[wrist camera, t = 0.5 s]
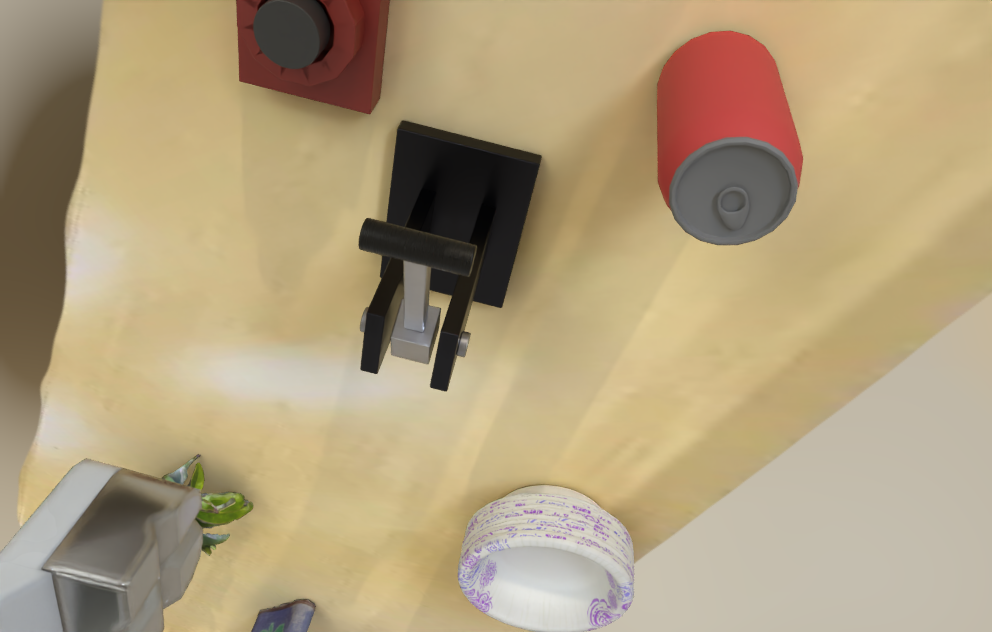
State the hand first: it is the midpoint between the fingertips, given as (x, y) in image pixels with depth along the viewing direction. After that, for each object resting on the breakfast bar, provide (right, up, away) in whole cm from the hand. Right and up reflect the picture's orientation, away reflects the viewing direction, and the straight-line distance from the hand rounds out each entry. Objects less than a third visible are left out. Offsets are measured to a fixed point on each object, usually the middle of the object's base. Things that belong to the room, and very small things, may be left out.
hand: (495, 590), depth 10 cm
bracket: (-3, +10, +42) cm, 43 cm away
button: (-11, +19, +31) cm, 38 cm away
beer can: (+12, +17, +34) cm, 40 cm away
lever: (-4, +6, +29) cm, 30 cm away
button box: (-10, +22, +34) cm, 41 cm away
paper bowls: (+5, -15, +62) cm, 64 cm away
